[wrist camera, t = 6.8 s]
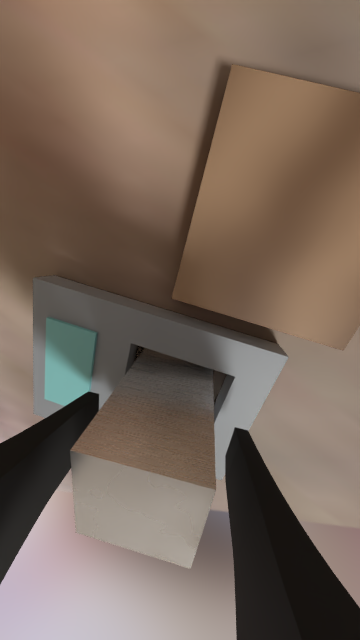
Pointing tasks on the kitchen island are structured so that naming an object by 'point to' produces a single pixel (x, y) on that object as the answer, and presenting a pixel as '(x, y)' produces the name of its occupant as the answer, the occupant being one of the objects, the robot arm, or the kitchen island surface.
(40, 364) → the hole plate
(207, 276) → the brown square plate
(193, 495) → the steel peg
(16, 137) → the kitchen island surface
